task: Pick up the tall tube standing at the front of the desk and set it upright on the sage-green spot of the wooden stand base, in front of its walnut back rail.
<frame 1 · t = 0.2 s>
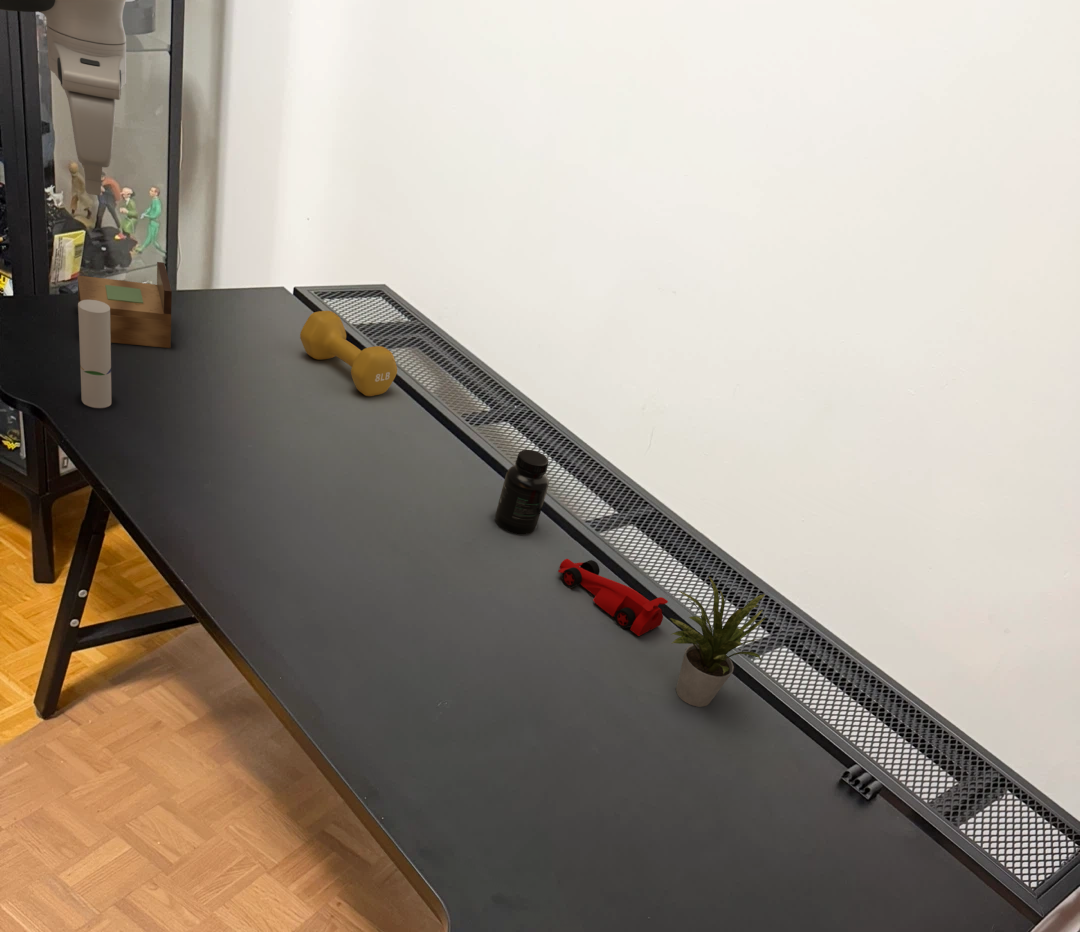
hand: (91, 180, 133), 34 cm above the table, tool pointing down, fingers open, 8 cm apart
wooden stand base: (124, 328, 177), on the table
dumbbell: (345, 375, 187), on the table
tube: (96, 402, 158), on the table
house plant: (693, 689, 143), on the table
supplement bottle: (514, 524, 163), on the table
toy car: (604, 601, 153), on the table
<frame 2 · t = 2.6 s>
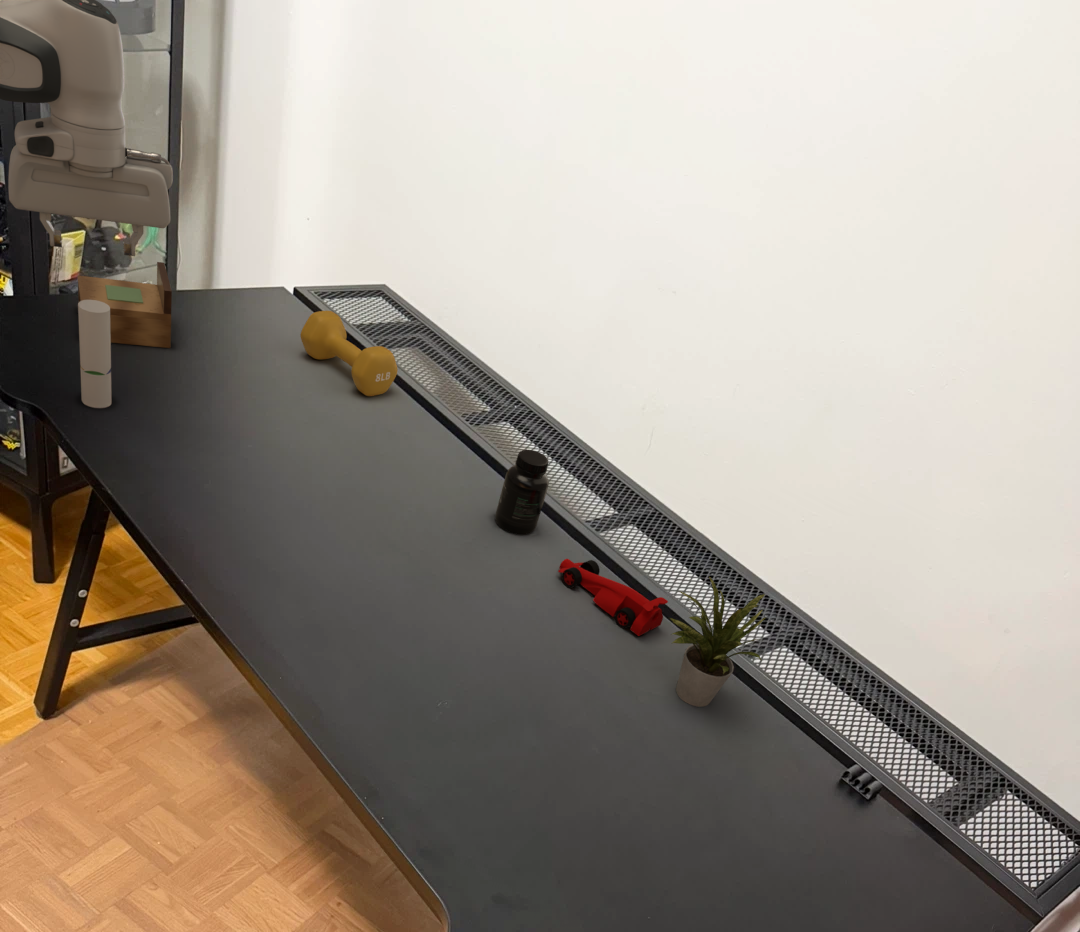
hand: (93, 249, 142), 23 cm above the table, tool pointing down, fingers open, 8 cm apart
nothing on the table moved.
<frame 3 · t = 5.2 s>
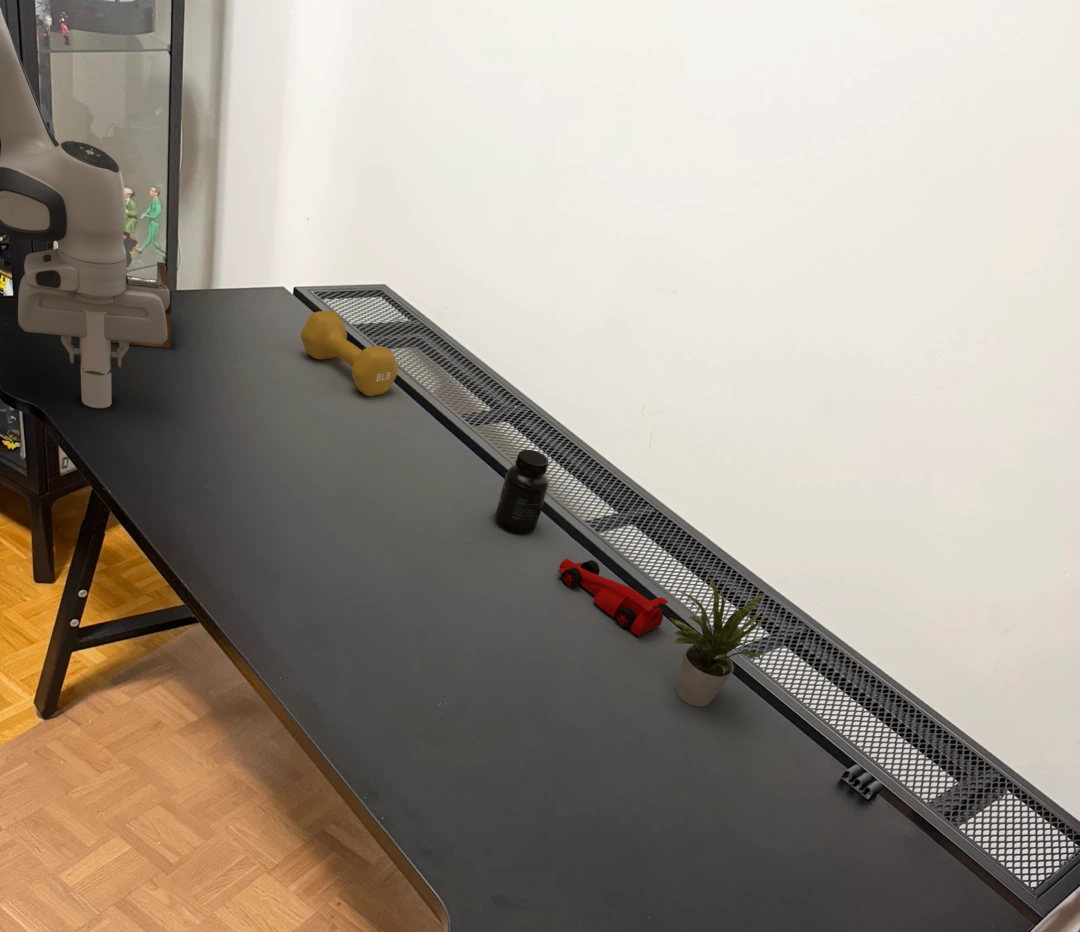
hand: (95, 363, 154), 6 cm above the table, tool pointing down, fingers closed on tube, 4 cm apart
tube: (96, 402, 158), on the table, touching gripper
everything else where it was.
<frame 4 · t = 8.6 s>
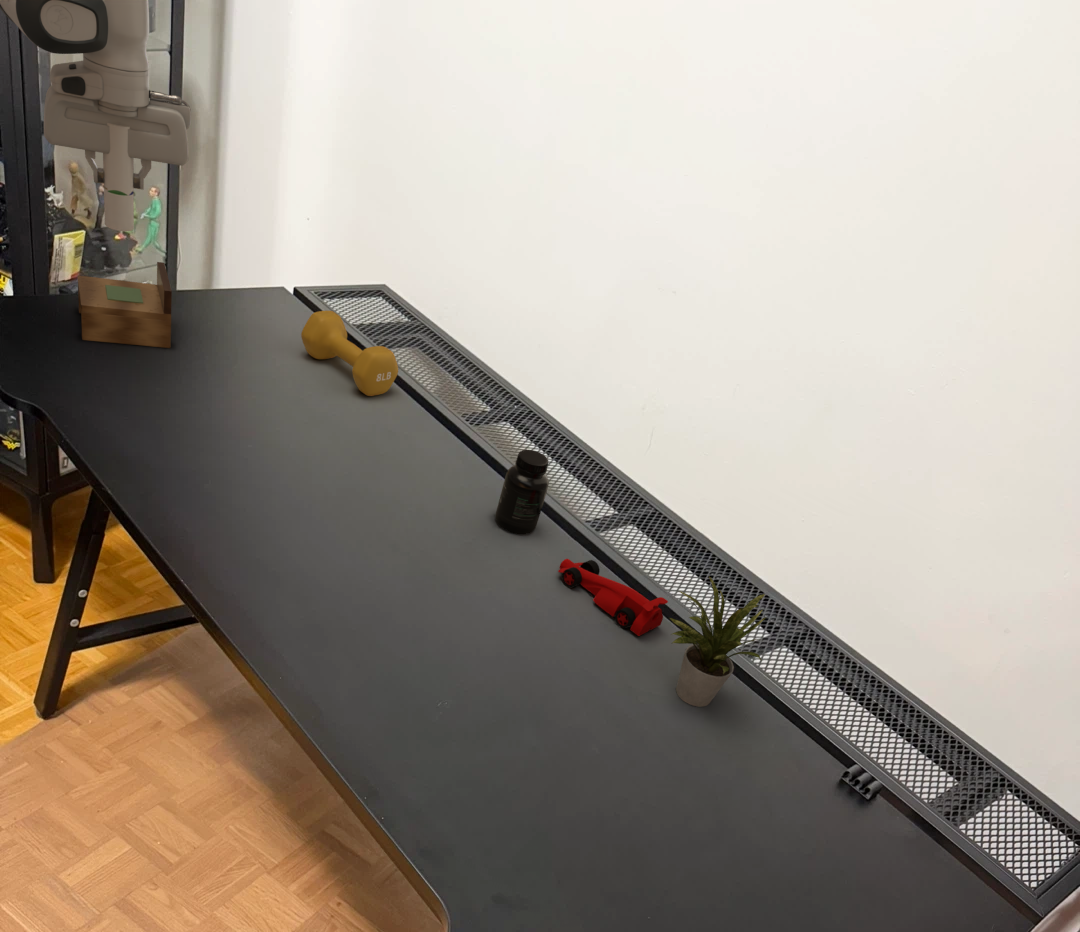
hand: (118, 184, 157), 25 cm above the table, tool pointing down, fingers closed on tube, 4 cm apart
tube: (119, 227, 161), point 19 cm above the table, touching gripper
everything else where it was.
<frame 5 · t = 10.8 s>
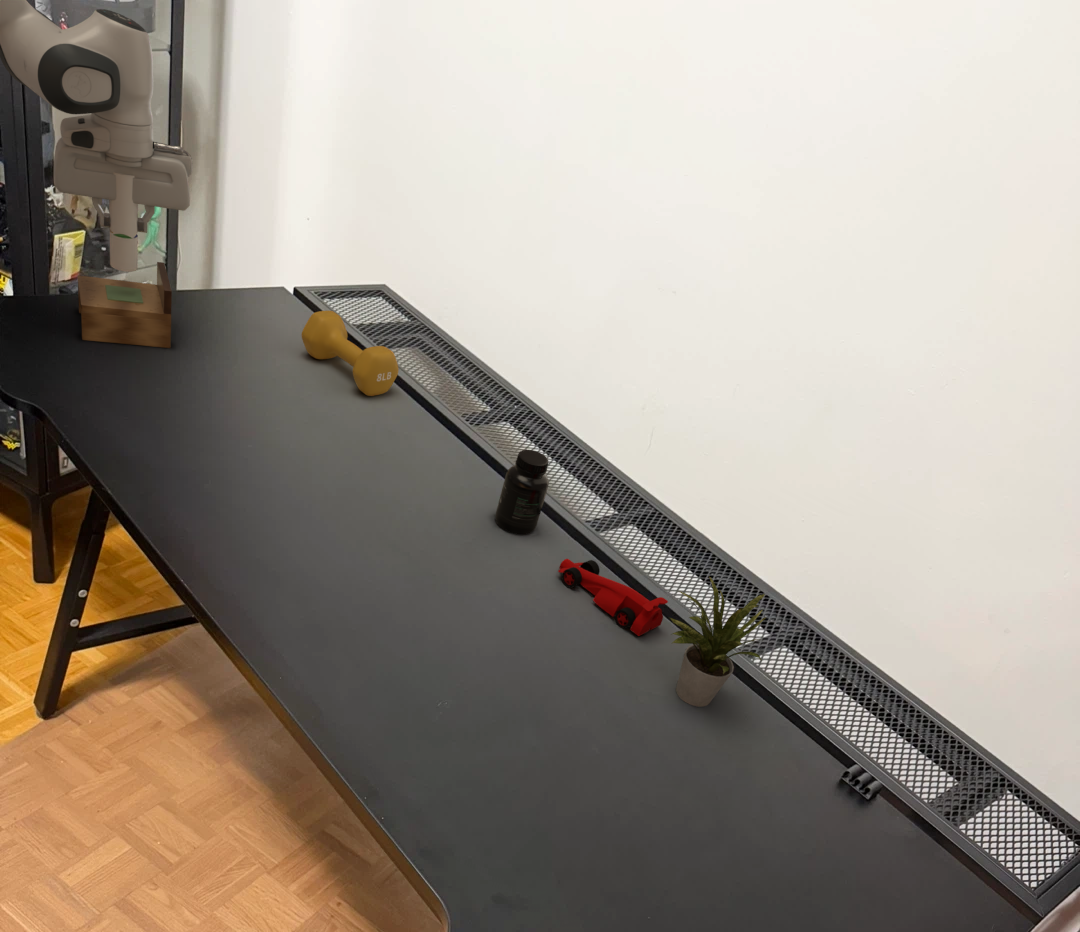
hand: (123, 228, 166), 17 cm above the table, tool pointing down, fingers closed on tube, 4 cm apart
tube: (123, 267, 170), point 11 cm above the table, touching gripper
everything else where it was.
when the fingers open (12 cm above the table, at t = 12.4 s): tube stays where it is, resting on wooden stand base.
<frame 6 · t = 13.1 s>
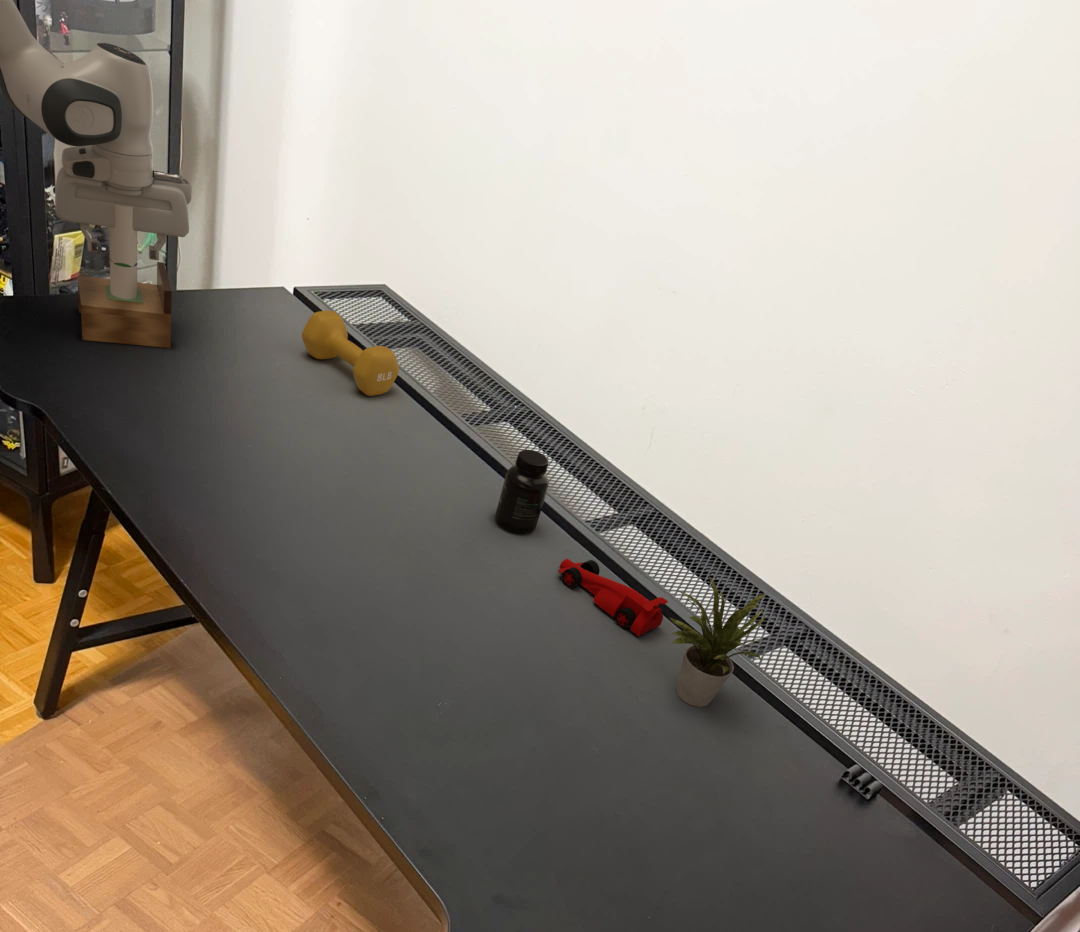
hand: (123, 254, 169), 13 cm above the table, tool pointing down, fingers open, 8 cm apart
tube: (123, 294, 173), point 6 cm above the table, touching wooden stand base
everything else where it was.
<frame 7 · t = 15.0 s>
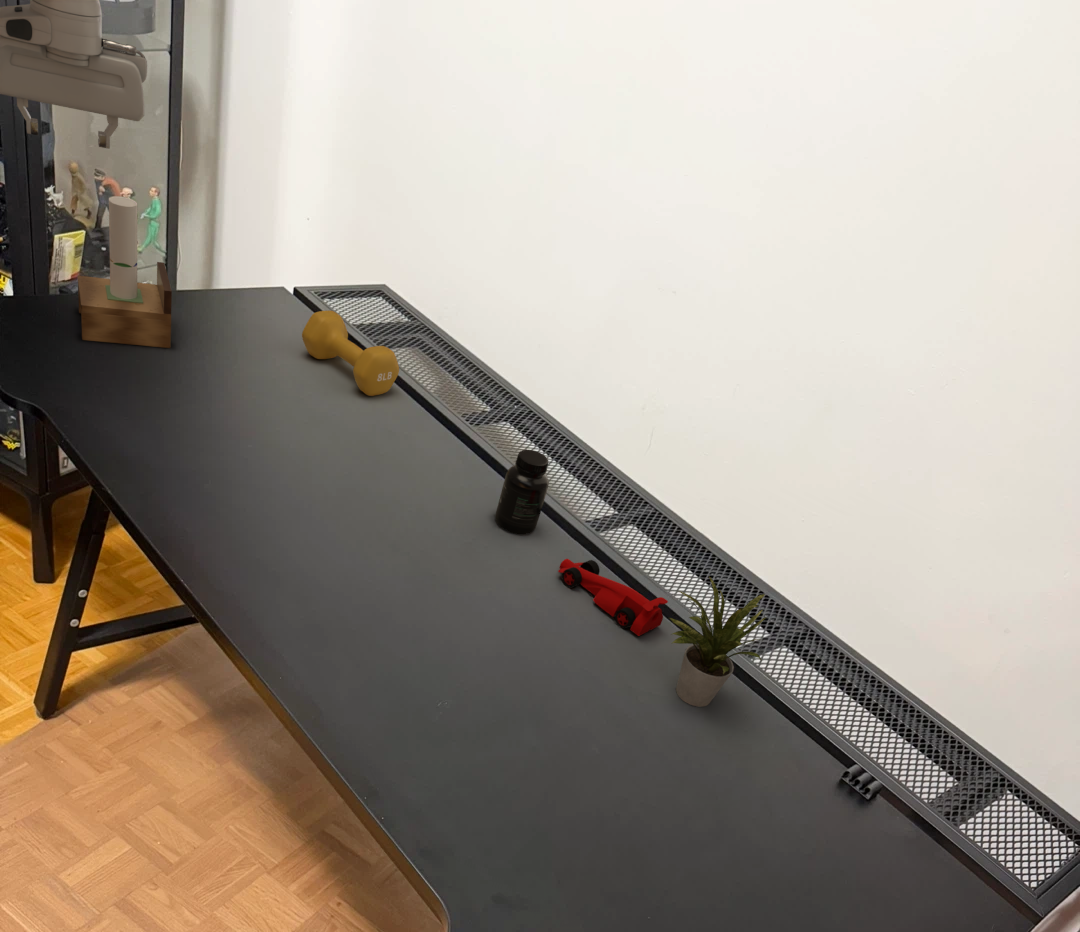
hand: (68, 140, 148), 32 cm above the table, tool pointing down, fingers open, 8 cm apart
nothing on the table moved.
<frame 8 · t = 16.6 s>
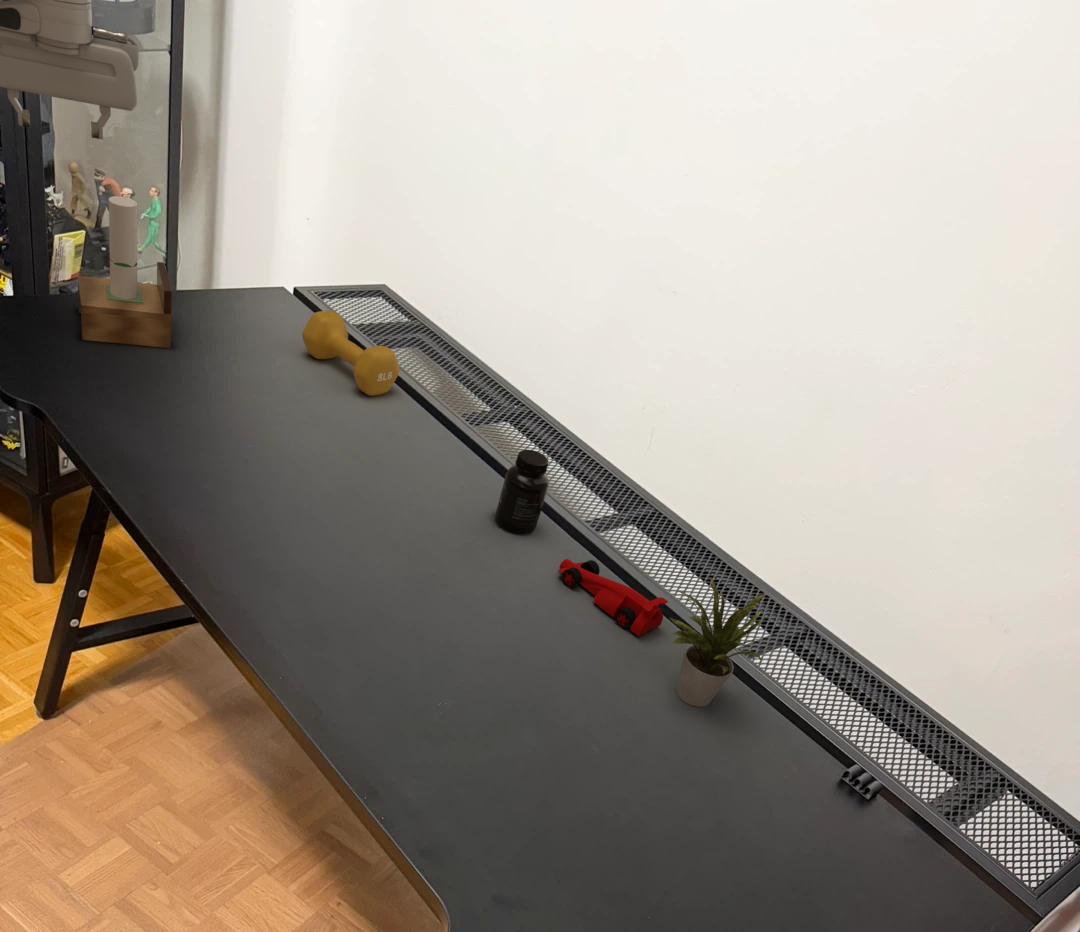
hand: (61, 131, 145), 33 cm above the table, tool pointing down, fingers open, 8 cm apart
nothing on the table moved.
at the end: tube 0.1 cm off-centre on the wooden stand base, point 6.0 cm above the wooden stand base's base; tube tilted 0°; the gripper is holding nothing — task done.
